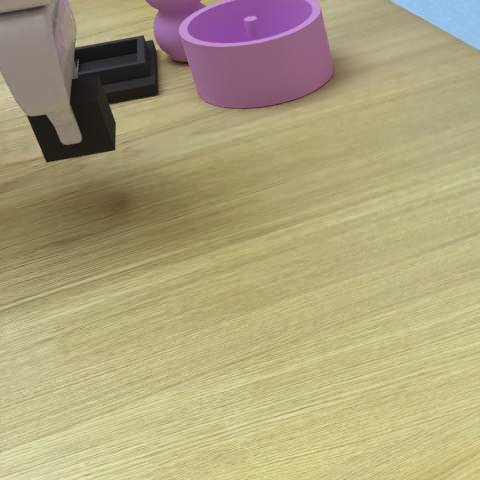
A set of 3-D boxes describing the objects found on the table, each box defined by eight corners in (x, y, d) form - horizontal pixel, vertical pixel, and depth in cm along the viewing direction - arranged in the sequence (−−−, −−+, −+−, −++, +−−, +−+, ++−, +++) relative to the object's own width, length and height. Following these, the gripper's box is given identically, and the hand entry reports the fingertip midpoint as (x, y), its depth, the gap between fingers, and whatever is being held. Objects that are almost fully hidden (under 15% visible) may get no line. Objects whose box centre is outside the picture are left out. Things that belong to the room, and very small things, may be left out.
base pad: (66, 111, 115) (56, 87, 113) (71, 65, 125) (62, 41, 123) (158, 94, 117) (150, 70, 115) (156, 49, 126) (148, 26, 124)
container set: (361, 67, 117) (335, -63, 108) (254, 119, 110) (216, -16, 100) (226, 26, 130) (193, -94, 120) (122, 70, 122) (77, -54, 113)
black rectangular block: (46, 163, 93) (25, 112, 90) (49, 135, 97) (29, 85, 94) (115, 150, 94) (97, 100, 90) (116, 123, 98) (98, 74, 94)
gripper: (-20, -76, 91) (44, 85, 101) (-47, 1, 77) (31, 180, 87) (55, -87, 92) (111, 74, 102) (42, -12, 78) (109, 165, 87)
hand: (74, 123), depth 94 cm, fingers closed on black rectangular block, 6 cm apart
